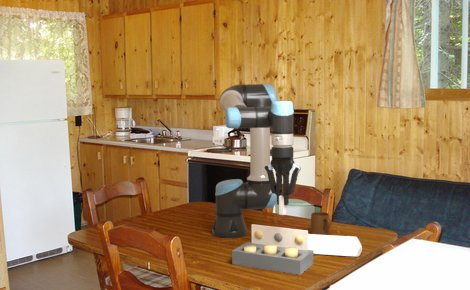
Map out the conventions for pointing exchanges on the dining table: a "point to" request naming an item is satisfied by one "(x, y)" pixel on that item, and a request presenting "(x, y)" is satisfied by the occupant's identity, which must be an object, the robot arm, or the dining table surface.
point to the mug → (320, 223)
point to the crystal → (334, 245)
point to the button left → (250, 248)
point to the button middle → (270, 249)
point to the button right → (291, 252)
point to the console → (281, 240)
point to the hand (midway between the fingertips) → (282, 214)
